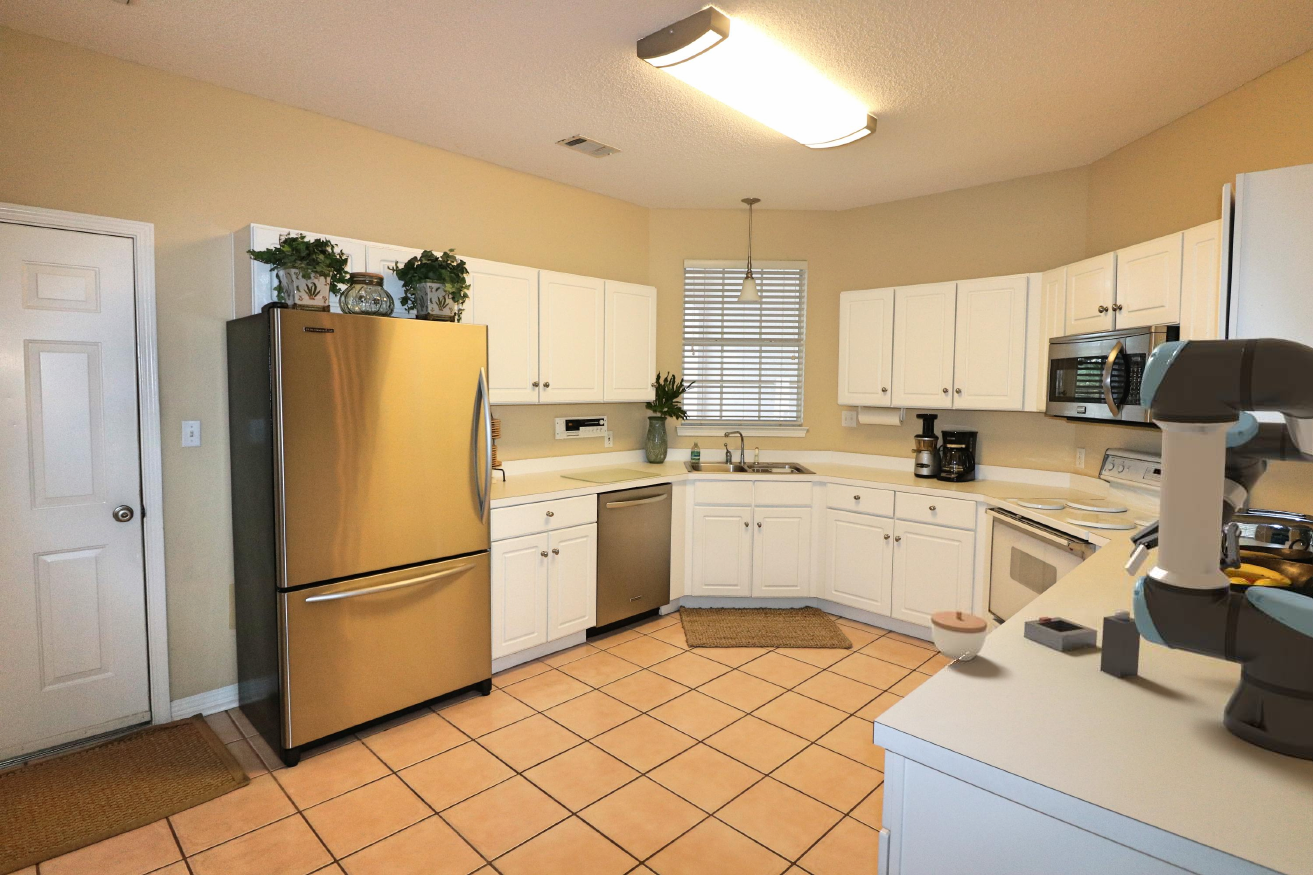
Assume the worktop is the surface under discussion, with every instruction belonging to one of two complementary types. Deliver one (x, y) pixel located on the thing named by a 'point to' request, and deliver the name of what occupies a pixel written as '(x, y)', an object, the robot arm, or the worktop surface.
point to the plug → (1120, 645)
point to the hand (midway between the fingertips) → (1161, 580)
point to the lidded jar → (958, 634)
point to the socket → (1060, 633)
